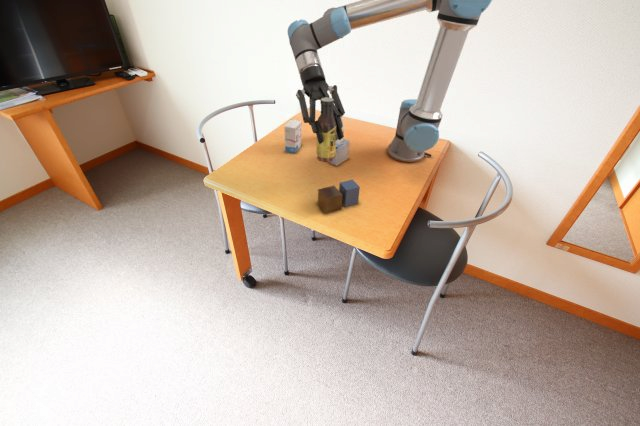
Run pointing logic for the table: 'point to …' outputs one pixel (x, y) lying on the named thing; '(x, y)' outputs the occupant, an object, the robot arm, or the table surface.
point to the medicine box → (341, 151)
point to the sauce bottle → (327, 131)
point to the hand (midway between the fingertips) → (331, 140)
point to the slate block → (349, 192)
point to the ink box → (292, 136)
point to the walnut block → (329, 199)
